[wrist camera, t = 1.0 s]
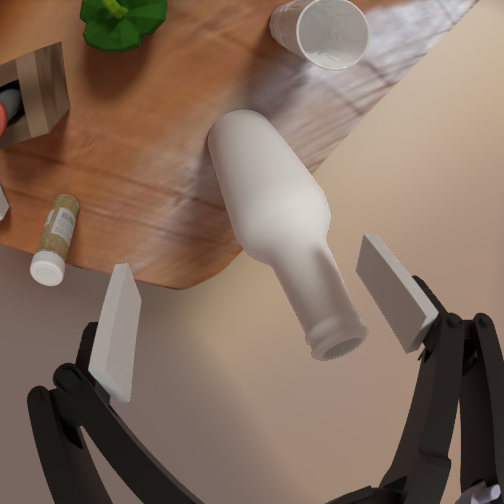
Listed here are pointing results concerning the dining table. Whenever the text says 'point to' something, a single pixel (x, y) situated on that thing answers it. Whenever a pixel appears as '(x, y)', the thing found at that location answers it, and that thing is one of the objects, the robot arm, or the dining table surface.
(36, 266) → the sprinkles bottle
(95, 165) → the dining table surface
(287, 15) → the white cup
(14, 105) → the red button
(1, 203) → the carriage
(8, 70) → the button box
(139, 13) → the bell pepper
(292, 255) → the alcohol
